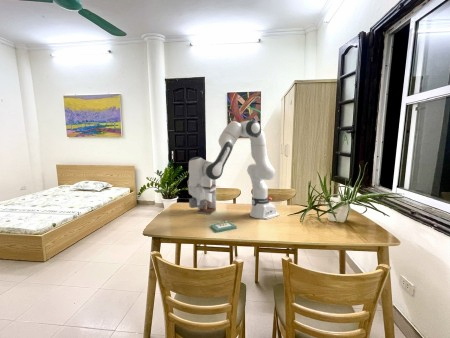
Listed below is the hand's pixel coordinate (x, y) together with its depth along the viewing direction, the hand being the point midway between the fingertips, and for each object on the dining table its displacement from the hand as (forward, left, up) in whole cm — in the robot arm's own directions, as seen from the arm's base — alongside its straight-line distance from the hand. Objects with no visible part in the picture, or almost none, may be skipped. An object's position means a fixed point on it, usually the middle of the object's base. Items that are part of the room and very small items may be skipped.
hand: (196, 203), depth 146 cm
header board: (-15, +9, -16) cm, 23 cm away
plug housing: (0, 0, -2) cm, 2 cm away
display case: (-18, -26, -16) cm, 35 cm away
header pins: (-15, +9, -14) cm, 22 cm away
